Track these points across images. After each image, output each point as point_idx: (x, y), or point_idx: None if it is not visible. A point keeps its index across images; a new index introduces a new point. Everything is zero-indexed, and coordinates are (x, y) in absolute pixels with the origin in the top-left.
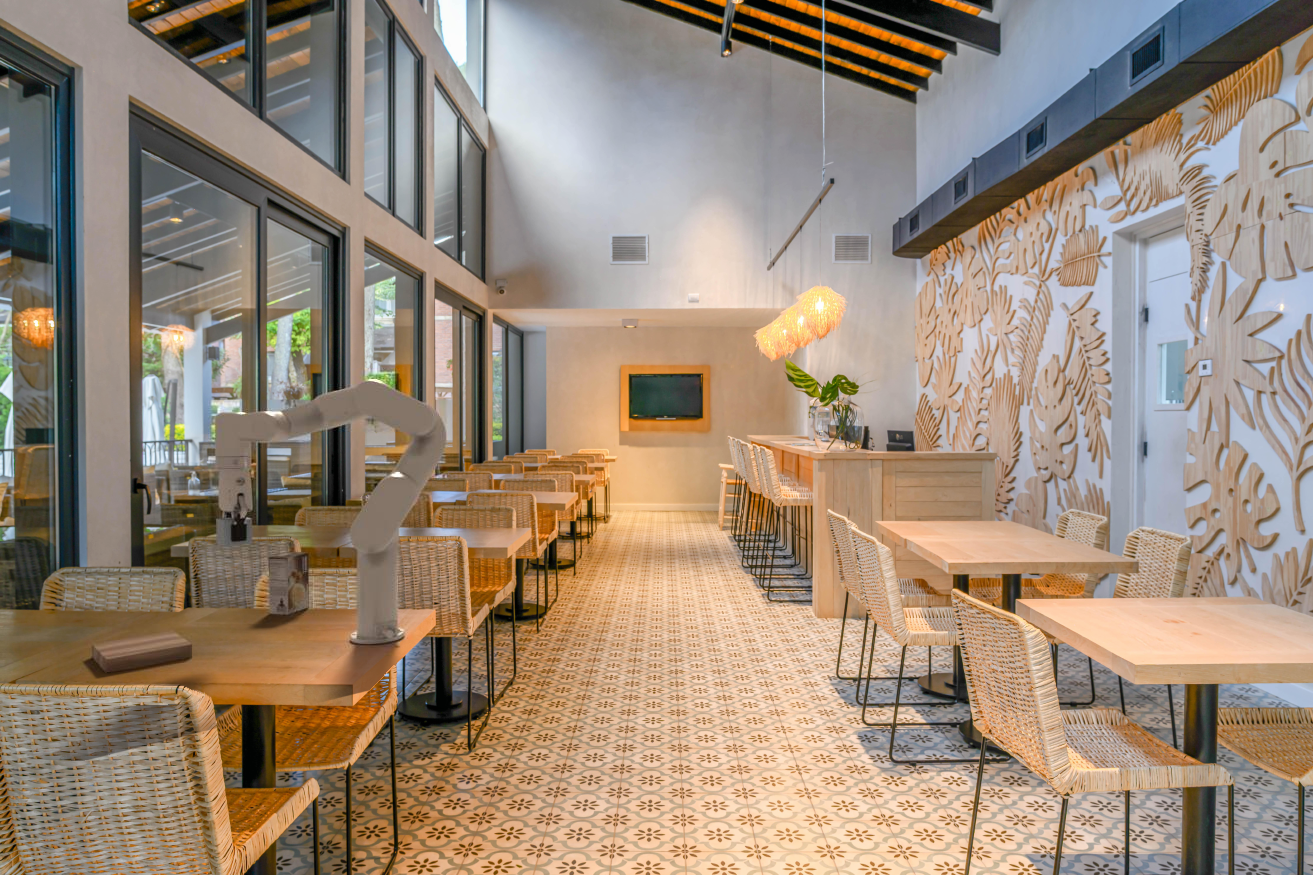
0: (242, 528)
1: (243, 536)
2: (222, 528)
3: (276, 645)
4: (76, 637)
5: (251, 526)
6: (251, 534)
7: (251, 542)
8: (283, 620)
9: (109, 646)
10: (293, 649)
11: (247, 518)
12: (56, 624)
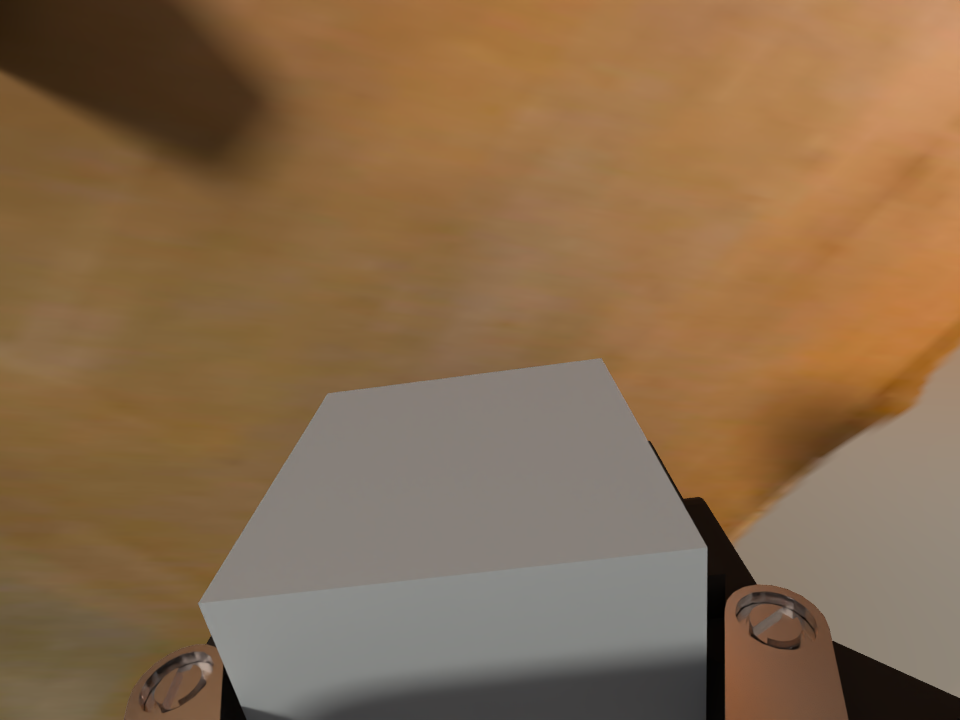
0: (746, 579)
1: (700, 498)
2: None
3: (585, 142)
4: (109, 632)
5: (662, 467)
6: (624, 409)
7: (603, 369)
8: (139, 17)
9: None
10: (692, 95)
11: (578, 594)
12: None
